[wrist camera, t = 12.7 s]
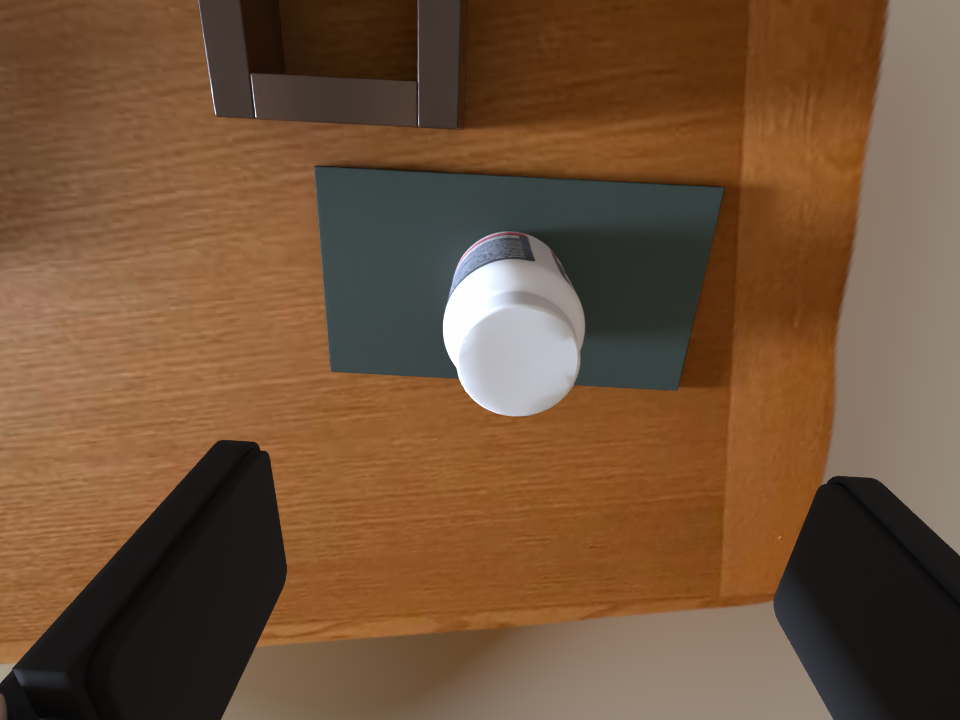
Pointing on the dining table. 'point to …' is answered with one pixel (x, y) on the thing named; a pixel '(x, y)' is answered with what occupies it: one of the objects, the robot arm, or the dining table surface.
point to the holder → (278, 96)
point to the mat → (517, 208)
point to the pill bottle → (514, 325)
